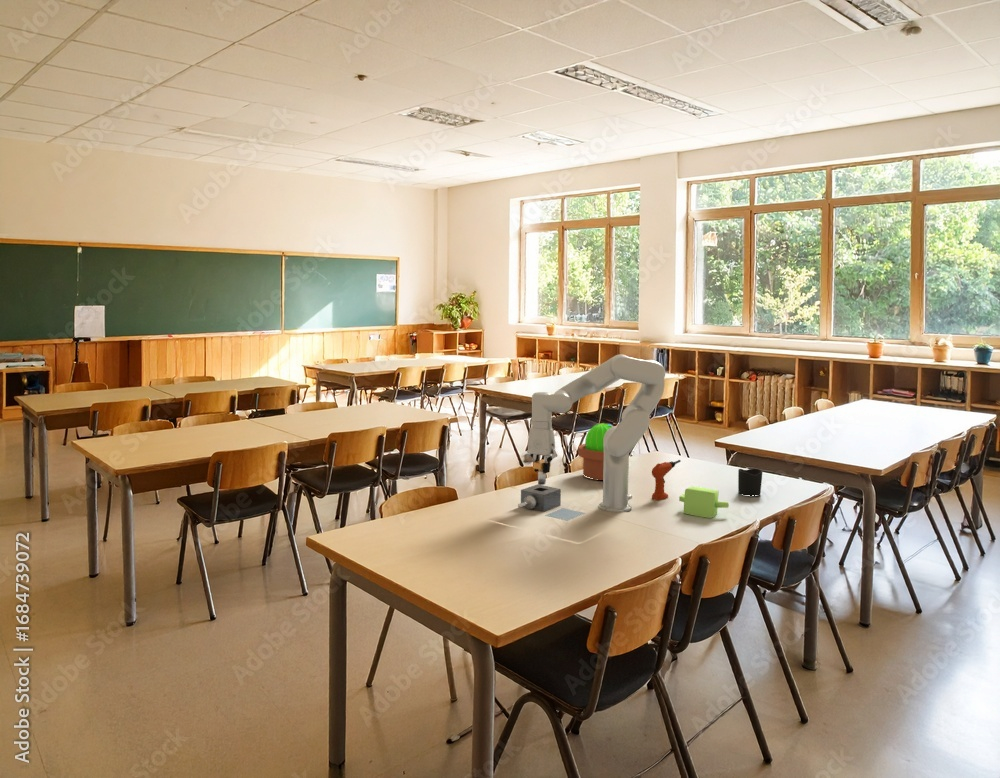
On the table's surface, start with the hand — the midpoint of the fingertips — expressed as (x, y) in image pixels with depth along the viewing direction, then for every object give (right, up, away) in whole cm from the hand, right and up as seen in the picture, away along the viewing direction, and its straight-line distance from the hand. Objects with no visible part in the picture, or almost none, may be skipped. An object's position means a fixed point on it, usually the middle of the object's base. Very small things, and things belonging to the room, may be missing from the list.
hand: (542, 471), depth 284 cm
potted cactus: (+30, -8, +50) cm, 59 cm away
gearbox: (+61, -16, -6) cm, 63 cm away
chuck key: (0, -5, +1) cm, 5 cm away
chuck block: (-3, -14, -1) cm, 15 cm away
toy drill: (+52, -12, +18) cm, 56 cm away
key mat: (+8, -15, -9) cm, 20 cm away
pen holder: (+87, -12, +22) cm, 91 cm away
